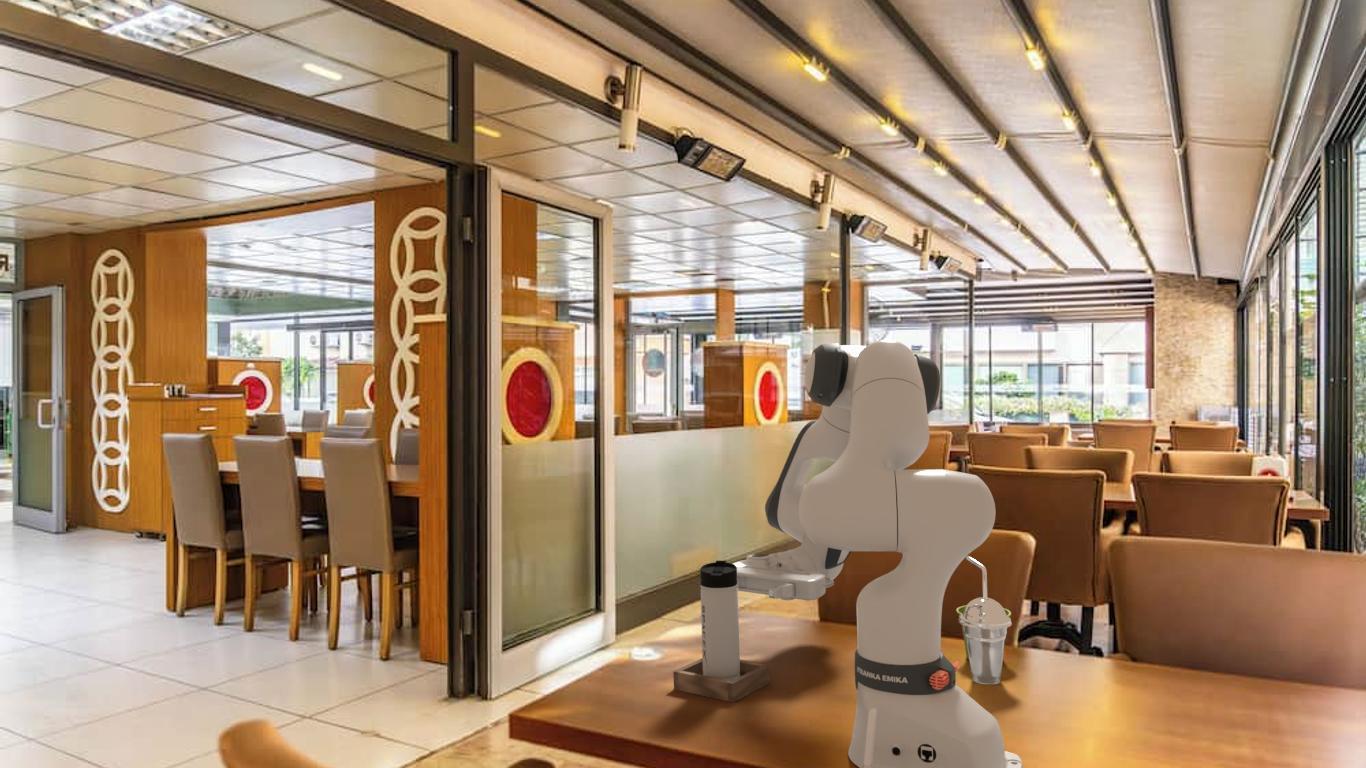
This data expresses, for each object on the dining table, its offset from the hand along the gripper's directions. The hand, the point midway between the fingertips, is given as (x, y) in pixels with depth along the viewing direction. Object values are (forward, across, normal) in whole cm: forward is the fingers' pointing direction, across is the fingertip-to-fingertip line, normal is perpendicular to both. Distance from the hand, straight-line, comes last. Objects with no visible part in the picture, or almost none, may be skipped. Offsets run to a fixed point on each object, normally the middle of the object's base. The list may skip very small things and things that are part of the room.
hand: (749, 590), depth 165 cm
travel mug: (+10, 0, -14) cm, 17 cm away
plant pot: (-27, -32, -14) cm, 45 cm away
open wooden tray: (+10, 0, -14) cm, 17 cm away
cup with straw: (-16, -36, -14) cm, 42 cm away
